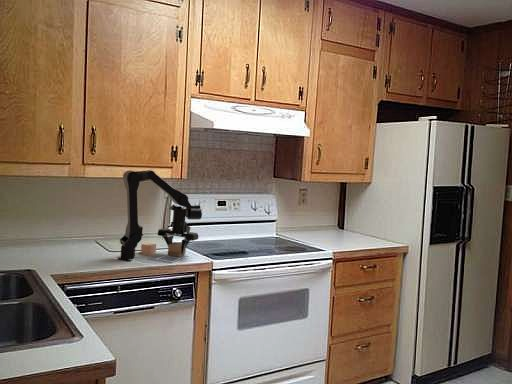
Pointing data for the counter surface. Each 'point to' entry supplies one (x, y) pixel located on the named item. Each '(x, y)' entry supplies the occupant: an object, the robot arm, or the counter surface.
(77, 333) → the counter surface
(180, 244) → the walnut block
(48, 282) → the counter surface
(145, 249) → the terracotta cube
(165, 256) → the board
